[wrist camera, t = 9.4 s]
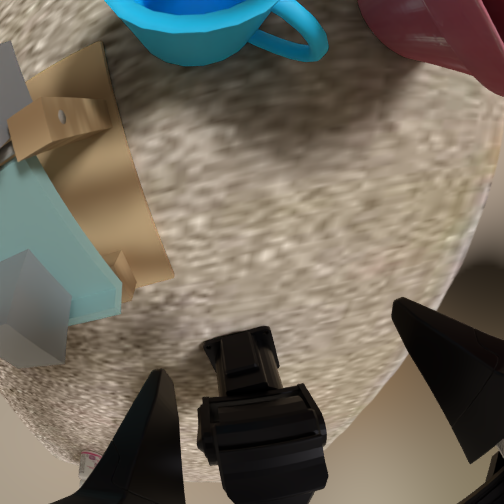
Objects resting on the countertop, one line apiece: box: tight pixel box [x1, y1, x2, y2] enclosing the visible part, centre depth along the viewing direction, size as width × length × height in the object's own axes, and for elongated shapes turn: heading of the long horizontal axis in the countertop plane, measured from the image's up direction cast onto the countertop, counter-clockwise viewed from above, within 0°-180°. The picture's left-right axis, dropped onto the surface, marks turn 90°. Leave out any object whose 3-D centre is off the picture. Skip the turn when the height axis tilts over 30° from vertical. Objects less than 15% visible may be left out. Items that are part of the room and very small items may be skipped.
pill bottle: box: [79, 450, 102, 487], centre depth 33 cm, size 5×5×8 cm
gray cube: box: [0, 249, 72, 368], centre depth 13 cm, size 5×5×5 cm
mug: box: [104, 0, 329, 66], centre depth 10 cm, size 12×8×8 cm
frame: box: [0, 41, 174, 303], centre depth 13 cm, size 18×18×9 cm
